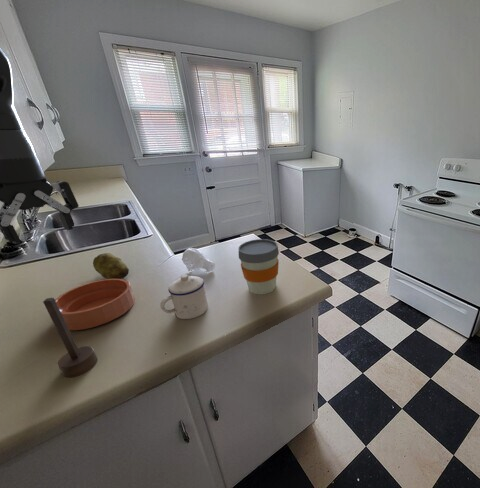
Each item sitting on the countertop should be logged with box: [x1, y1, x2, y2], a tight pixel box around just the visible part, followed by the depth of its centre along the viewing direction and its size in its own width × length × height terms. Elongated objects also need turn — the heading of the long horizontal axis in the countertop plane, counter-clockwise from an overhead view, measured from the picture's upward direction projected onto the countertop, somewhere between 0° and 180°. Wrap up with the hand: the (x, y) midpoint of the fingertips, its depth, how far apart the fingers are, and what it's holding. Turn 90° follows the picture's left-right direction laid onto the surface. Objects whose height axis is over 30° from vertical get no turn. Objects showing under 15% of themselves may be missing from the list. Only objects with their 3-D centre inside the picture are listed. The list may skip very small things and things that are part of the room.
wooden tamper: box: [42, 297, 98, 378], centre depth 57 cm, size 6×6×18 cm
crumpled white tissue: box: [181, 247, 216, 273], centre depth 100 cm, size 6×8×12 cm
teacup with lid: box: [160, 274, 209, 320], centre depth 76 cm, size 12×9×12 cm
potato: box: [92, 252, 130, 279], centre depth 96 cm, size 8×13×8 cm, turn 48°
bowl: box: [54, 278, 136, 331], centre depth 78 cm, size 18×18×6 cm
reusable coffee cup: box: [238, 238, 280, 295], centre depth 88 cm, size 12×12×15 cm
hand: (44, 235), depth 57 cm, fingers open, 8 cm apart
